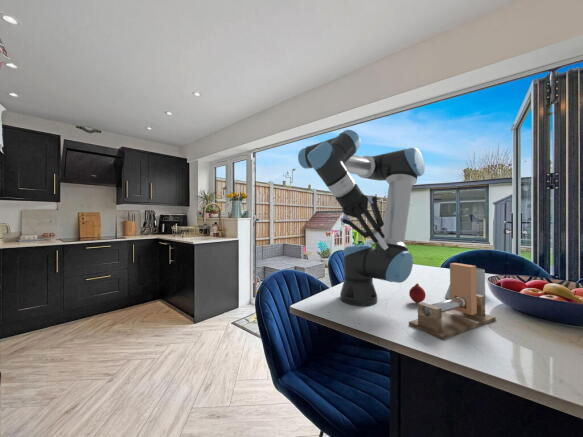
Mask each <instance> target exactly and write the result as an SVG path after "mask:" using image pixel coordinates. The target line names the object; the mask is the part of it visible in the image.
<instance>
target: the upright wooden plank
mask: <svg viewBox="0 0 583 437" xmlns="http://www.w3.org/2000/svg"><path fill="white" fill-rule="evenodd" d="M476 268H477V266H476V265H472V264H465V263H459V262H458V263H457V262H452V263H451V262H450V263H449V282H450V283H449V285H450V299H454V298H456V297H464V298H466V306H464V307H460V308H456V309H453V310H457V311H460V312H463V313H466V314H469V315H474V314H477V298H476Z"/></svg>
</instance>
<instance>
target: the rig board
mask: <svg viewBox="0 0 583 437" xmlns="http://www.w3.org/2000/svg"><path fill="white" fill-rule="evenodd" d="M476 298H477V314H474V315H469V314H466V313H463V312H460V311H457V310H449V311H446V312H443V313H442V308H440V307H437V306H434V305H431V304H430V303H427V302H423V301H422V302H420V303H417V318H416V319H414V320H410V321H408V326H411V327H412V328H416V329H417V330H419V331H423V332H425V333H427V334H428V335H431V336H434V337H436V338H438V339H440V340H442V341H443V340H446V339H449V338H452V337H454V336H457V335H459V334H462V333H465V332H468V331H470V330H474V329H475V328H478V327H481V326H484V325H486V324H489V323H492V322H494V321H496V320H497V318H496V317H495V316H493V315H490V314H487V313H486V295H485V296H483V295H479V294H476ZM424 306H427V307H429V308H430V309H428V308H427V307H425V308H427V311H428V310H429V311H430V310H431V316H429V315H430V313H429V315H427V314H426V315H427V316H425V315H424V314H423V311H422V310H423V308H424ZM425 308H424V310H425ZM424 312H425V313H426V311H424ZM428 316H429V317H428Z"/></svg>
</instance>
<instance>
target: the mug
mask: <svg viewBox="0 0 583 437" xmlns="http://www.w3.org/2000/svg"><path fill="white" fill-rule="evenodd" d="M476 294H479V295H483V296H485V297H486V271H485V269H483V268H478V267H476Z"/></svg>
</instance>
